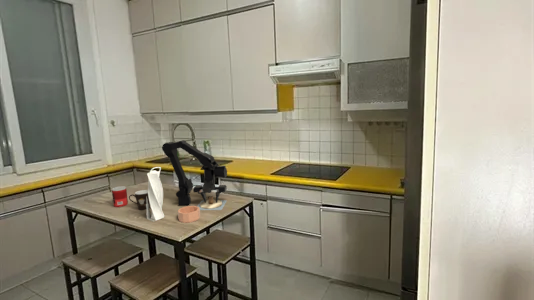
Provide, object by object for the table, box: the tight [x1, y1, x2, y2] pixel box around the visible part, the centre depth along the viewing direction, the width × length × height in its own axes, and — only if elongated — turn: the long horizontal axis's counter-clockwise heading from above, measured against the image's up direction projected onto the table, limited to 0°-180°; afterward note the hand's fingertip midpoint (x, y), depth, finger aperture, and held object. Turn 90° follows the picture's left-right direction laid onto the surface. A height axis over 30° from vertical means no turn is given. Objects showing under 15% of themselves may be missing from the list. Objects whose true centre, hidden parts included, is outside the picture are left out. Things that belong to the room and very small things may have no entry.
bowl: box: [177, 205, 201, 224], centre depth 156 cm, size 11×11×5 cm
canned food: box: [111, 185, 129, 208], centre depth 179 cm, size 8×8×11 cm
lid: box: [199, 195, 222, 209], centre depth 174 cm, size 13×13×5 cm
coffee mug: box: [128, 189, 151, 211], centre depth 173 cm, size 12×9×10 cm
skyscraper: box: [145, 166, 165, 223], centre depth 156 cm, size 8×8×28 cm
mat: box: [197, 199, 228, 211], centre depth 174 cm, size 16×16×1 cm
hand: (211, 202), depth 174 cm, fingers open, 6 cm apart
